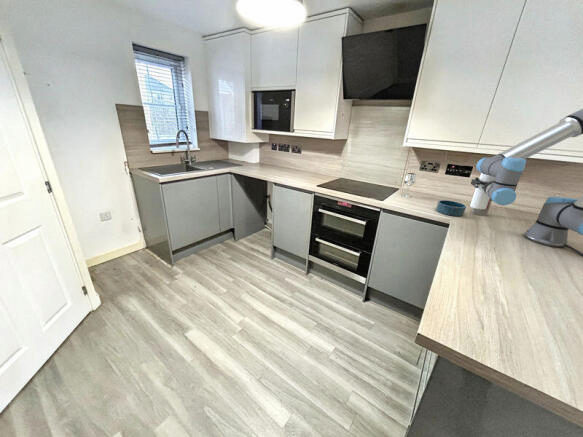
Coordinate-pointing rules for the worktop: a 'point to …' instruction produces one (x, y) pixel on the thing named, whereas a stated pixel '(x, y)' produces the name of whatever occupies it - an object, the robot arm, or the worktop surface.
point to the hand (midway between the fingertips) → (484, 180)
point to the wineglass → (409, 181)
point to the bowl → (451, 208)
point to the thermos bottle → (482, 211)
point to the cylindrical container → (481, 193)
